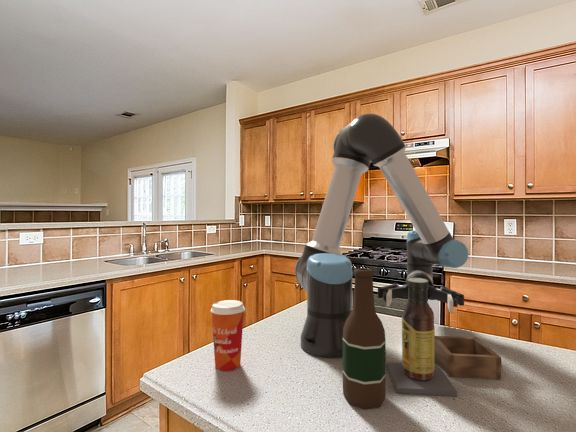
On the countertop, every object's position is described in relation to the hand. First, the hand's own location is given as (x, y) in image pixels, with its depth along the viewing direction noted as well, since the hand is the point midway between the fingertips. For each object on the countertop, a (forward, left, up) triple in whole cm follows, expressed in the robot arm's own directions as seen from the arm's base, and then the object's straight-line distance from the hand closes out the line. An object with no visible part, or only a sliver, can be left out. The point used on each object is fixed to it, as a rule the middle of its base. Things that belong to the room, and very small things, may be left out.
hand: (418, 303), depth 75 cm
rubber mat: (-2, -8, -14) cm, 16 cm away
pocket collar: (+10, 0, -14) cm, 17 cm away
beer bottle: (-14, -16, -14) cm, 26 cm away
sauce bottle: (-2, -8, -13) cm, 15 cm away
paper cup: (-43, -6, -14) cm, 46 cm away
